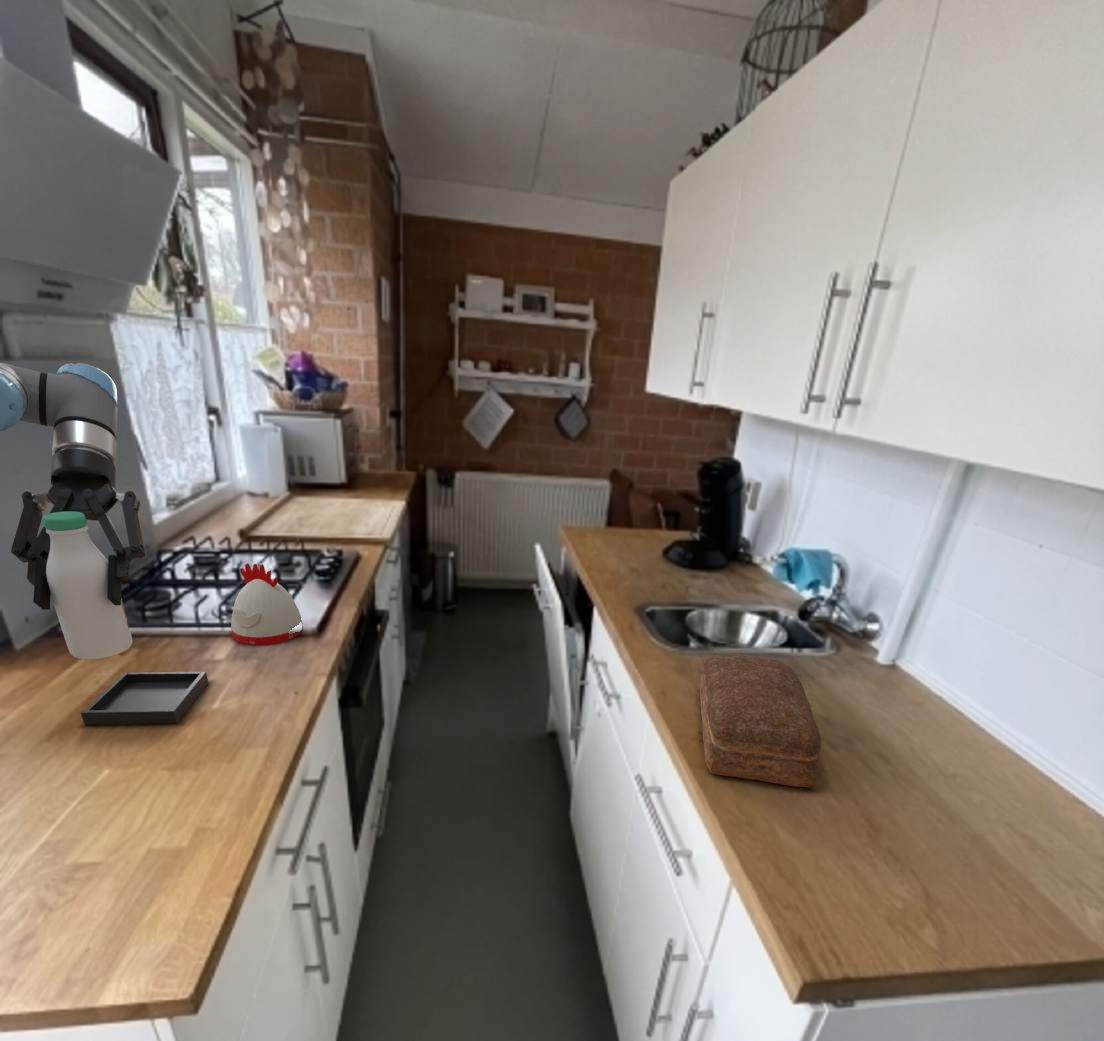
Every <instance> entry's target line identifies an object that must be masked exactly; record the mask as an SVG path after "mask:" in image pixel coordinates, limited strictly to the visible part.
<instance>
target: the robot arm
mask: <svg viewBox="0 0 1104 1041" xmlns="http://www.w3.org/2000/svg"><path fill="white" fill-rule="evenodd" d="M118 413H119V404H118V390H117V386H116V384H115V382H114V380H113V378H111V377H110V376H109V374H107V373H106V372H105V371H103V370H101V369H100V368H98V367H95V366H93V365H91V364H87V363H81V362H78V363H74V364H73V363H66V364H63V365H61V367H59V368H58V370H57V372H56V374H55V373H50V372H44V371H38V370H34V369H33V370H32V369H29V368H25V367H21V366H17V365H13V364H8V363H5V362H0V432H2V431H6V430H8V429H10V428H13V427H14V426H16V425H17V424H18V423H19V422H23V423H24V422H25V423H30V424H35V425H41V426H45V427H51V428H53V435H52V437H53V438H52V446H51V455H52V456H51V463H50V464H51V466H50V486H49V487H48V488H47V490H46V492H43V493H37V494H33V493H32V492H31V491H24V492H22V494H21V499H22V505H23V507H22V510H21V514H20V517H19V521H18V524H17V528H16V531H15V534H14V538H13V542H12V545H11V548H10V553H11V554H12V555H13V556H14V557H16V558H17V560H19V561H20V562H21V563H23V564H24V563H27V572H26V579H27V581H28V583H30V584H31V585H32V586H33V587H34V588H33V598H32V601H33V603H34V604H35V605H37V606H38V607H39V608H40V609H41V610H43V611H48V610H50V609H51V599H52V596H51V593H50V589H49V586H48V582H47V576H46V566H47V561H48V557H49V553H50V544H51V540H50V535H49V534H48V533H46V528H45V527H44V526H43V527H42V529H41V530H40V526H41V523H42V521H43V520H42V517H43V512H45V511H46V510H47V509H46V508H47V506H48V504H49V503H51V504H52V505H53V506H52V508H51V510H50V511H49V514H50V513H55V512H65V511H74V512H81V513H83V514H84V515H85V517H86V521H98V523H99V525H100V527H101V529H102V531H103V532H104V534H105V536H106V538H107V540H108V542H109V543H110V545H111V548H112V550H113V552H114V553H115V554H111V555H110V554H108V559H107V560H108V588H107V598H108V599H109V600H110V601H111V602H112V603H113V604H114V605H115V606H116V605H121V599H122V583H123V582H129V579H130V564H131V561H132V560H134V559H143V558H145V556H146V550H145V544H144V540H143V534H142V530H141V525H140V520H139V509H140V506H141V502H140V500H139V498H138V496H137V495H136V494H135V492H134V491H132V490H127V491H126V492H124V493H123V492H118V491H116V484H117V483H116V482H117V481H116V480H117V479H116V478H117V469H116V464H117V443H118V442H117V438H118V437H117V436H118V435H117V434H118V416H119V415H118ZM117 503H118V504H119V506H120V507H121V508H122V512H123V513H122V514H123V517H124V523H125V529H126V534H127V540H128V544H129V545H128V546H125V544H124V542H123V540H122V538H121V537H120V535H119V533H118V531H117V529H116V527H115V526H114V523H113V520H112V519H111V517H110V515H109V514H108V512H109V511H110V510H111V509H113V507H114V506H115V505H116V504H117ZM39 531H40V532H39Z"/></svg>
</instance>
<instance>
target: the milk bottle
mask: <svg viewBox="0 0 1104 1041" xmlns="http://www.w3.org/2000/svg"><path fill="white" fill-rule="evenodd" d="M41 521H42V523H43V527H45V528H46V533H48V534H49V535H50V540H51V544H50V553H49V557H48V560H47V566H46V576H47V582H48V586H49V589H50V593H51V601H52V603H53V606H54V609H55V612H56V615H57V619H58V621H59V625H60V628H61V631H62V635H63V637H64V641H65V644H66V646H67V649H68V652H69V654H70V655H71V656H73V658H75V659H80V660H96V659H97V660H99V659H105V658H110V657H113V656H116V655H119V654H121V653H124V652H126V651H127V650H128V649H130V648H131V646H132V645H133V637H132V633H131V629H130V628H131V627H130V625H129V621H128V617H127V614H126V610H125V606H124V603H123V599H122V598H121V605H116V606H115V605H114V604H113V603H112V602H111V601H110V600H109V599H108V598H107V588H108V559H107V557H106V556H105V555H104V554H103V553H102V551H100V549H99V548H98V547H97V546H96V545H95V544H94V542H93V540H92V539H91V537H90V534H89V533H88V530H89V526H88V520H86V517H85V515H84V514H83V513H81V512H74V511H65V512H55V513H50V512H49V513H47V514H44V515H42V520H41Z"/></svg>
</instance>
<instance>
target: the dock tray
mask: <svg viewBox="0 0 1104 1041" xmlns="http://www.w3.org/2000/svg"><path fill="white" fill-rule="evenodd" d="M208 684H209V678H208V674H207V671H129V672H128V671H127V672H126V671H124V672H123V673H121V674H120V675H119V677H118V678H116V679H115V680H114V681H113V682H112V683H111V684H110V685H109V686H108V687H106V689H105V690H103V692H101V694H99V695H98V696H97V697H96V698H95V699H94V700H93V701H91V703H90V704H89V705H87V706H86V707H85V708H84V709H83V710H82V711H81V712H80V715H81V718H82V721H83V722H82V723H83V725H84V726H108V725H109V726H110V725H113V726H115V725H119V726H120V725H158V724H159V725H161V724H163V725H164V724H165V725H167V724H168V725H169V724H178V723H179V721H180V720H181V719H182V717H183V716H184V715H185V714H186V712H187V711H188V710H189V709H190V708H191V706H192V704H193V703H194V702H195V701H196V700H197V698H198V697H199V696H200V694H201V693H202V692H203V691H204V690H205V688H206V686H207V685H208Z"/></svg>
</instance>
